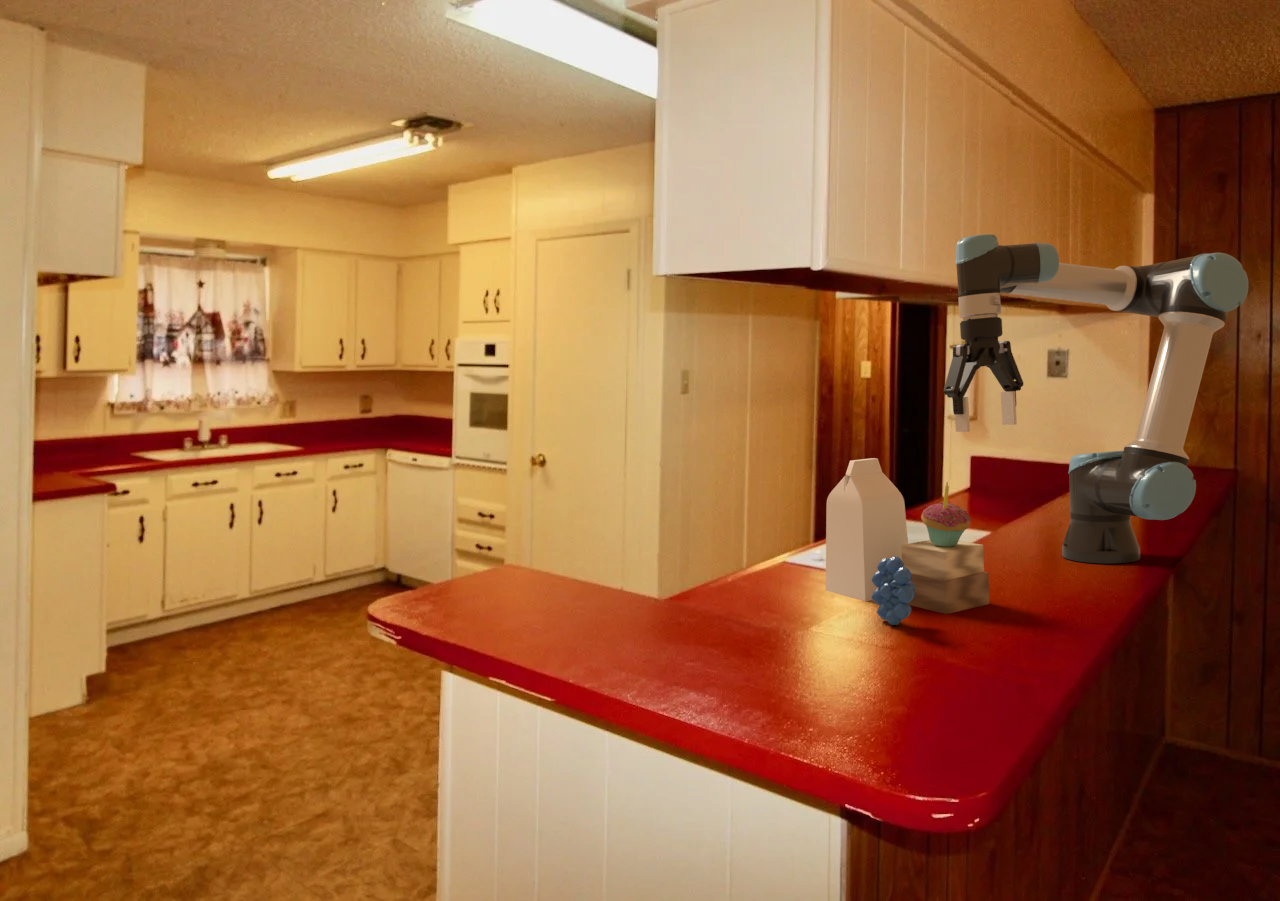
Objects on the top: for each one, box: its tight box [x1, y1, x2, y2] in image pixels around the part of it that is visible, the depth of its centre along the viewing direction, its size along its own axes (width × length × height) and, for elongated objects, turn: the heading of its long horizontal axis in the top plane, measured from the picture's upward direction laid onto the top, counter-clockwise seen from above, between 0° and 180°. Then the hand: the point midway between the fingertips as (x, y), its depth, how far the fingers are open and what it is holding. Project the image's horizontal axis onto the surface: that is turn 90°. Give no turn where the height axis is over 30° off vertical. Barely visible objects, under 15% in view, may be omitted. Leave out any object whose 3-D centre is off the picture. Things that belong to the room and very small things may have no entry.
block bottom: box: [908, 571, 990, 615], centre depth 162 cm, size 11×11×6 cm
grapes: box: [871, 556, 915, 626], centre depth 149 cm, size 12×7×12 cm, turn 14°
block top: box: [901, 539, 985, 580], centre depth 162 cm, size 10×10×5 cm
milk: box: [825, 457, 909, 602], centre depth 173 cm, size 12×12×26 cm
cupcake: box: [920, 481, 972, 547], centre depth 160 cm, size 9×8×12 cm
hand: (986, 428), depth 172 cm, fingers open, 13 cm apart
